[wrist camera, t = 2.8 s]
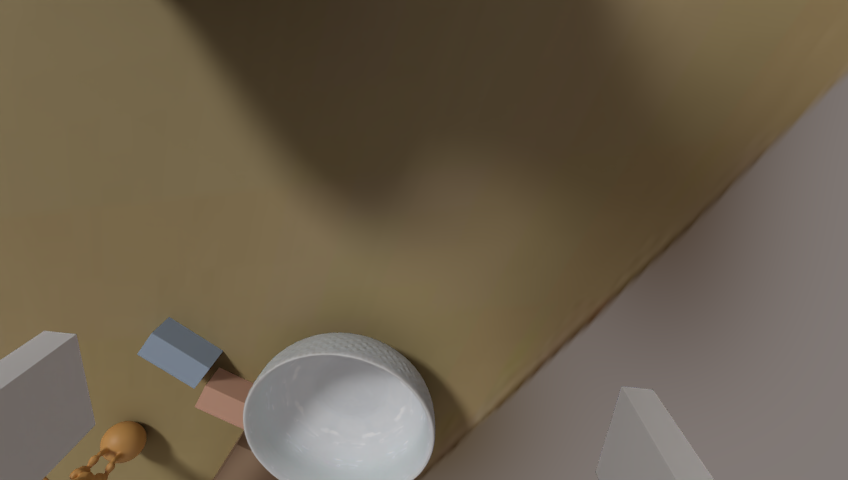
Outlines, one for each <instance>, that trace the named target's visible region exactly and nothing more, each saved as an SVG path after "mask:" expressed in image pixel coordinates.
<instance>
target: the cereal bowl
mask: <svg viewBox="0 0 848 480" xmlns="http://www.w3.org/2000/svg"><path fill="white" fill-rule="evenodd" d="M243 426H244V432H245V436H246V439H247V442H248V444H249V446H250V448H251V450H252V452H253V454H254V455H255V457H256V458H257V459H258V461H259V462H260V463H261V464H262V465H263V466H264V467H265V468H266V469H267V470H268V471H269V472H270V473H271V474H272V475H273V476H275V477H276V478H277V479H279V480H414V479H415V478H416V477H417V476H418V475H419V474H420V473H421V472H422V471H423V469H424V468H425V466H426V465H427V463H428V461H429V459H430V457H431V454H432V451H433V447H434V442H435V417H434V410H433V403H432V400H431V396H430V394H429V390H428V388H427V386H426V384H425V381H424V380H423V378H422V377H421V375H420V373H419V372H418V371H417V370H416V368H415V367H414V365H412V364H411V362H410V361H409V360H407V359H406V358H405V356H403V355H402V354H400V353H399V352H398V351H396V350H395V349H393V348H392V347H390V346H389V345H386V344H385V343H382V342H381V341H378V340H376V339H373V338H369V337H367V336H363V335H358V334H352V333H341V332H340V333H327V334H319V335H315V336H311V337H309V338H305V339H302V340H301V341H298V342H295V343H294V344H293V345H290V346H289V347H287V348H286V349H284V350H283V351H281V352H280V353H279V354H278V355H277V356H275V357H274V358H273V359H272V360H271V361H270V362H269V363H268V364H267V366H266V367H265V368H264V369H263V370H262V372H261V374H260V375H259V376H258V378H257V379H256V380H255V382H254V384H253V386H252V387H251V389H250V390H249V393H248V396H247V398H246V400H245V404H244V410H243Z"/></svg>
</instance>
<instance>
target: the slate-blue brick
mask: <svg viewBox="0 0 848 480" xmlns="http://www.w3.org/2000/svg"><path fill="white" fill-rule="evenodd" d="M222 352H223V351H222V350H221V349H219V348H218V347H216V346H214V345H213V344H211V343H210V342H208V341H207V340H205V339H203V338H202V337H200V336H199V335H197V334H195V333H194V332H192V331H191V330H189V329H187V328H186V327H184V326H183V325H181V324H180V323H178V322H176V321H175V320H173V319H172V318H170V317H169V318H168V319H166V320H165V321H164V322H163V323H162V324H161V325H160V326H159V327H158V328H157V329H156V330H155V331H153V332H152V333H151V335H150V336H149V338H148V339H147V341H146V342H145V344H144V345H143V347H142V348H141V350H140V351H139V352H138V354H137V355H139V356H141V357H142V358H144V359H146V360H147V361H149V362H151V363H152V364H154V365H156V366H157V367H159V368H161V369H162V370H164V371H166V372H167V373H169V374H171V375H172V376H174V377H176V378H177V379H179V380H181V381H182V382H184V383H186V384H187V385H189V386H191V387H192V388H195V387H196V386H197V384H198V383H199V382H200V381H201V379H202V378H203V377H204V375H205V374H206V373H207V371H208V370H209V369H210V367H211V366H212V365H213V364H214V362H215V361H216V360H217V358H218V357H219V356H220V354H221V353H222Z"/></svg>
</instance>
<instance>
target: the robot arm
mask: <svg viewBox="0 0 848 480" xmlns="http://www.w3.org/2000/svg"><path fill="white" fill-rule="evenodd" d="M94 426H95V420H94V415H93V410H92V406H91V401H90V396H89V392H88V387H87V382H86V377H85V373H84V368H83V363H82V359H81V354H80V349H79V344H78V340H77V335H76V334H71V333H60V332H50V331H43V332H42V333H40V334H39V335H37V336H36V337H34V338H33V339H31V340H30V341H28V342H27V343H25V344H24V345H22V346H21V347H19V348H18V349H16V350H15V351H13V352H12V353H10V354H9V355H7V356H6V357H4V358H3V359H1V360H0V480H42V479H43V478H44V477H45V476H46V475H47V474H48V473H49V472H50V471H51V470H52V469H53V468H54V467H55V466H56V465H57V464H58V463H59V462H60V461H61V460H62V459H63V458H64V457H65V456H66V455H67V454H68V453H69V451H70V450H71V449H72V448H73V447H74V446H75V445H76V444H77V443H78V442H79V441H80V440H81V439H82V438H83V437H84V436H85V435H86V434H87V433H88V432H89V431H90V430H91V429H92V428H93V427H94ZM595 472H596V475H597V477H598V480H714V479H713V477H712V476H711V474H710V473H709V472H708V470H707V469H706V467H705V466H704V464H703V463H702V461H701V460H700V458H699V457H698V455H697V454H696V452H695V451H694V449H693V448H692V446H691V445H690V443H689V442H688V440H687V439H686V437H685V436H684V434H683V433H682V432H681V430H680V429H679V427H678V426H677V424H676V423H675V421H674V420H673V418H672V417H671V415H670V414H669V412H668V411H667V409H666V408H665V406H664V405H663V404H662V402H661V400H660V399H659V398H658V396H657V395H656V393H655V392H654V390H653V389H643V388H632V387H623V386H622V387H621V390H620V393H619V396H618V399H617V403H616V406H615V409H614V412H613V416H612V419H611V423H610V426H609V429H608V432H607V435H606V439H605V442H604V445H603V448H602V452H601V455H600V458H599V462H598V465H597V468H596V471H595Z"/></svg>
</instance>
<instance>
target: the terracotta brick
mask: <svg viewBox="0 0 848 480" xmlns="http://www.w3.org/2000/svg"><path fill="white" fill-rule="evenodd" d="M253 384H254V383H251V382H249V381H247V380H245V379H243V378H241V377H239V376H237V375H234V374H232V373H230V372H228V371H226V370H224V369H222V368H220V367H219V368H218V369H217V371H216V372H215V373H214V375H213V376H212V378H211V379H210V380H209V382H208V383H207V384H206V386H205V388H204V390H203V392H202V394H201V396H200V398H199V400H198V402H197V404H196V406H195V407H196V408H198V409H200V410H202V411H205V412H207V413H209V414H211V415H213V416H216V417H218V418H220V419H222V420H224V421H227V422H229V423H231V424H233V425H235V426H238V427H240V428H242V429H244V426H243V410H244V404H245V400H246V398H247V396H248V393H249V390H250V389H251V387H252V386H253Z"/></svg>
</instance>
